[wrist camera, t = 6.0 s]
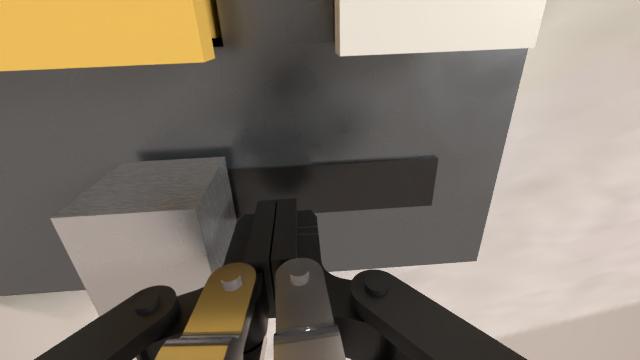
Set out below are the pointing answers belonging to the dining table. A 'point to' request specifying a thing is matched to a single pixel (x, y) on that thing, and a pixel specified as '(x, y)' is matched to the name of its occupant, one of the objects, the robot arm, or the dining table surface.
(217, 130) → the panel
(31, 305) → the dining table surface
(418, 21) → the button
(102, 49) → the button mid
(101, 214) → the brushed metal cube
